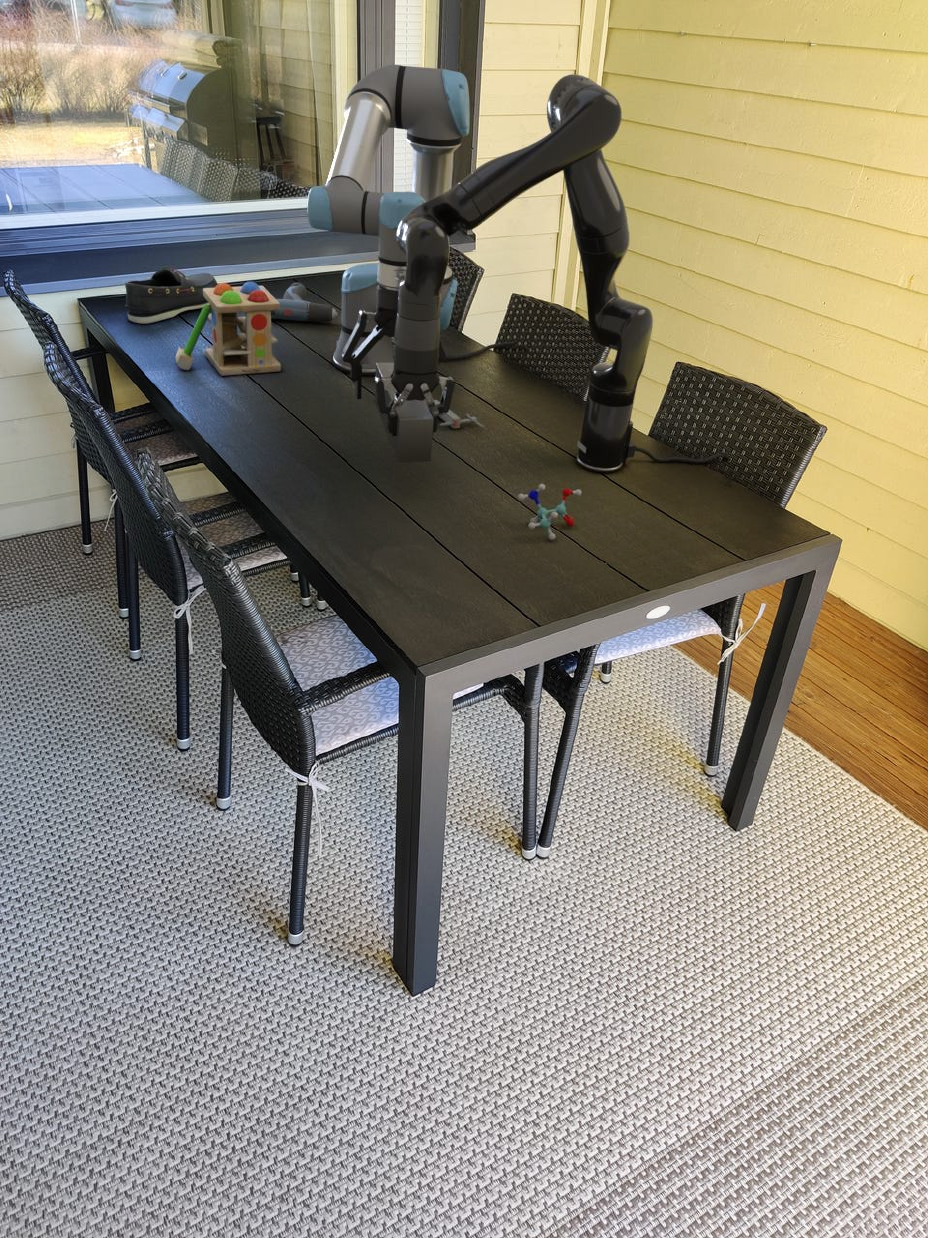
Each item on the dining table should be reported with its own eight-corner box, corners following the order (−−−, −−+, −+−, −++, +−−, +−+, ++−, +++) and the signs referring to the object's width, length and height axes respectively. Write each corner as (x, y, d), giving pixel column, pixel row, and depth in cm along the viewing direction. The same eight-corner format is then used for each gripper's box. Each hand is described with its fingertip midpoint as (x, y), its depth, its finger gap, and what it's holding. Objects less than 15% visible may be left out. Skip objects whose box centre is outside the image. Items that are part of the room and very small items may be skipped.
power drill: (344, 304, 276) (335, 327, 259) (277, 298, 275) (264, 321, 258) (344, 285, 273) (335, 306, 256) (277, 279, 272) (264, 300, 255)
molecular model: (578, 533, 169) (560, 478, 167) (528, 548, 172) (510, 494, 171) (592, 523, 179) (575, 471, 178) (544, 538, 183) (527, 486, 182)
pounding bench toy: (183, 379, 220) (176, 299, 210) (169, 357, 231) (162, 280, 221) (282, 371, 230) (280, 294, 220) (264, 350, 240) (262, 276, 230)
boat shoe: (237, 302, 271) (234, 263, 265) (145, 325, 247) (140, 283, 242) (203, 293, 276) (200, 255, 271) (110, 316, 253) (104, 274, 247)
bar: (374, 402, 194) (375, 362, 190) (404, 401, 196) (406, 362, 191) (397, 462, 173) (399, 419, 168) (430, 461, 174) (433, 418, 169)
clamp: (412, 401, 215) (452, 396, 220) (411, 411, 216) (451, 405, 221) (445, 428, 205) (486, 422, 209) (444, 438, 206) (485, 432, 210)
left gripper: (331, 289, 173) (331, 404, 185) (468, 292, 179) (458, 403, 191) (327, 277, 179) (326, 389, 191) (459, 280, 185) (450, 388, 197)
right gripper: (377, 348, 160) (374, 443, 169) (463, 349, 163) (455, 442, 173) (371, 333, 166) (368, 426, 175) (454, 334, 169) (447, 425, 179)
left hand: (392, 396), depth 191 cm, fingers open, 13 cm apart
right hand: (412, 433), depth 174 cm, fingers closed on bar, 6 cm apart
